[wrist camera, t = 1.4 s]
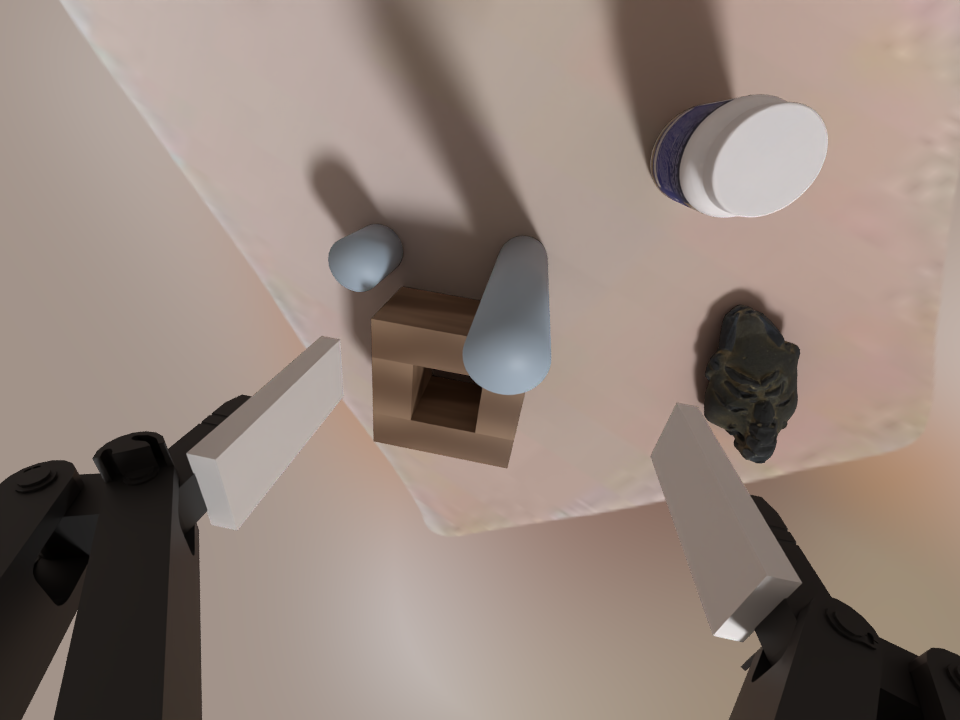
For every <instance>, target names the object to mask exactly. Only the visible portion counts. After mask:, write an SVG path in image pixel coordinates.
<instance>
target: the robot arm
mask: <svg viewBox="0 0 960 720" xmlns="http://www.w3.org/2000/svg"><path fill="white" fill-rule="evenodd" d="M343 396H344V392H343V376H342V360H341V344H340V339H335V338H330V337H324V336H321V337H320V338H319V339H318V340H316V341H315V342H314V343H313V344H312V345H311V346H309V347H308V348H307V349H306V350H305V351H304V352H303V353H301V354H300V355H299V356H298V357H297V358H296V359H295V360H293V361H292V362H291V363H290V364H289V365H288V366H286V367H285V368H284V369H283V370H282V371H281V372H280V373H278V374H277V375H276V376H275V377H274V378H273V379H272V380H270V381H269V382H268V383H267V384H266V385H264V386H263V387H262V388H261V389H260V390H259V391H258V392H256V393H255V394H254V395H253V396H247V395H240V396H238V397H237V398H234V399H232V400H230V401H227V402H226V403H224V404H223V405H222V406H220V407H219V408H218V409H217V410H215V411H214V412H213V413H212V415H209V416H208V417H207V418H206V419H204V420H203V421H202V423H201V424H198V425H197V426H196V427H195V428H193V429H192V430H191V431H190V432H188V433H187V434H186V435H185V436H183V437H182V438H181V439H180V440H178V441H177V442H176V443H175V444H174V445H172V446H171V447H170V448H169V449H168V448H167V446H166V443H165V441H164V438H163V436H161V435H160V434H158V433H155V432H146V431H145V432H136V433H131V434H128V435H124V436H121V437H118V438H116V439H114V440H112V441H111V442H108V443H106V444H105V445H104V446H103V447H101V448H100V449H99V450H98V451H97V452H96V454H95V455H94V457H93V461H94V463H95V464H96V466H97V468H98V470H99V472H100V474H83V475H79V473H78V472H77V470H76V468H75V467H74V465H73V464H72V463H70V462H67V461H64V460H56V461H55V460H52V461H48V462H42V463H38V464H35V465H32V466H29V467H27V468H24V469H22V470H20V471H18V472H17V473H15V474H13V475H11V476H9V477H8V478H7V479H5V480H4V481H3V482H2V483H1V484H0V720H21V719H22V717H23V715H24V714H25V712H26V710H27V708H28V706H29V704H30V702H31V700H32V698H33V696H34V694H35V692H36V690H37V688H38V686H39V684H40V682H41V680H42V678H43V676H44V674H45V672H46V670H47V668H48V666H49V664H50V663H51V661H52V658H53V656H54V655H55V653H56V651H57V649H58V647H59V645H60V643H61V641H62V639H63V637H64V635H65V633H66V631H67V629H68V627H69V625H70V623H71V621H72V619H73V617H74V616H75V614H76V612H77V615H76V620H75V625H74V629H73V634H72V638H71V643H70V648H69V652H68V657H67V661H66V666H65V670H64V675H63V679H62V684H61V688H60V693H59V698H58V702H57V707H56V711H55V716H54V720H202V695H201V694H202V691H201V638H200V637H201V636H200V635H201V631H200V571H199V529H198V526H197V521H198V520H199V519H200V518H201V517H202V516H203V515H204V514H205V513H206V512H207V513H208V516H209V519H210V522H211V524H212V525H215V526H219V527H224V528H228V529H233V530H238V529H239V528H240V526H241V525H242V524H243V523H244V521H245V520H246V519H247V518H248V516H249V515H250V514H251V513H252V511H253V510H254V509H255V507H256V506H257V505H258V504H259V502H260V501H261V500H262V499H263V497H264V496H265V495H266V494H267V492H268V491H269V490H270V489H271V487H272V486H273V485H274V483H275V482H276V481H277V480H278V478H279V477H280V476H281V475H282V473H283V472H284V471H285V470H286V468H287V467H288V466H289V464H290V463H291V462H292V461H293V459H294V458H295V457H296V455H297V454H298V453H299V452H300V451H301V449H302V448H303V447H304V445H305V444H306V443H307V442H308V440H309V439H310V438H311V437H312V435H313V434H314V433H315V432H316V430H317V429H318V428H319V427H320V425H321V424H322V423H323V421H324V420H325V419H326V418H327V416H328V415H329V414H330V413H331V411H332V410H333V409H334V407H335V406H336V405H337V404H338V402H339V401H340V400H341V399H342V397H343ZM651 459H652V462H653V465H654V468H655V470H656V473H657V476H658V479H659V482H660V485H661V488H662V491H663V493H664V496H665V499H666V502H667V505H668V508H669V511H670V513H671V516H672V519H673V522H674V525H675V527H676V531H677V534H678V536H679V539H680V542H681V545H682V548H683V551H684V554H685V557H686V560H687V562H688V565H689V568H690V571H691V574H692V576H693V580H694V583H695V585H696V588H697V591H698V594H699V597H700V600H701V602H702V606H703V608H704V611H705V614H706V617H707V620H708V623H709V626H710V628H711V631H712V634H713V636H717V637H722V638H726V639H731V640H735V641H740V642H744V641H745V640H746V639H747V638H748V637H749V636H750V635H751V634H752V633H753V631H755V632H756V634H757V636H758V638H759V641H760V643H761V645H762V647H761V648H760V649H759V650H758V651H757V652H756V653H754V654H753V655H752V656H751V657H750V658H749V659H748V660H747V661H746V662H745V663H744V664H743V665H742V666H741V667H742V668H743V669H744V670H745V671H746V670H747V669H748V668H749V667H750V668H749V671H748V673H747V676H746V678H745V681H744V683H743V686H742V688H741V691H740V693H739V696H738V698H737V701H736V703H735V706H734V708H733V711H732V713H731V716H730V718H729V720H960V656H959V655H957V654H955V653H952V652H950V651H947V650H945V649H941V648H931V649H929V650H928V651H926V652H925V653H923V654H922V655H920V656H917V655H915V654H913V653H911V652H909V651H907V650H905V649H903V648H901V647H899V646H896V645H894V644H892V643H890V642H888V641H886V640H884V639H882V638H880V637H878V635H877V633H876V631H875V630H874V629H873V627H872V626H871V625H870V624H869V623H868V622H867V621H866V620H865V619H864V618H863V617H862V616H861V615H860V614H859V613H857V612H856V611H855V610H853V609H852V608H851V607H850V606H848V605H846V604H845V603H843V602H841V601H839V600H837V599H835V598H832V597H831V596H830V594H829V593H828V591H827V590H826V588H825V586H824V585H823V583H822V582H821V580H820V578H819V577H818V575H817V574H816V572H815V571H814V569H813V568H812V566H811V564H810V563H809V561H808V560H807V558H806V557H805V555H804V554H803V552H802V550H801V549H800V548H799V546H798V545H796V541H795V539H794V538H793V536H792V535H791V533H790V532H788V531H787V527H786V525H785V524H784V522H783V521H782V519H781V517H780V516H779V515H778V513H777V512H776V511H775V510H774V509H773V508H772V507H771V506H770V505H769V504H768V503H767V502H766V501H765V500H764V499H763V498H762V497H759V496H754V495H750V494H749V493H748V491H747V489H746V487H745V486H744V484H743V482H742V481H741V479H740V477H739V476H738V474H737V472H736V471H735V469H734V467H733V466H732V464H731V462H730V461H729V459H728V457H727V455H726V454H725V452H724V450H723V449H722V447H721V445H720V444H719V442H718V440H717V439H716V437H715V435H714V434H713V432H712V430H711V428H710V427H709V425H708V423H707V422H706V420H705V418H704V417H703V415H702V413H701V412H700V410H699V408H698V407H697V406H692V405H687V404H681V403H676V405H675V407H674V409H673V411H672V413H671V415H670V417H669V419H668V421H667V423H666V425H665V428H664V430H663V432H662V434H661V436H660V438H659V440H658V442H657V444H656V446H655V448H654V450H653V452H652V454H651ZM77 610H78V611H77Z"/></svg>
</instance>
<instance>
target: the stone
mask: <svg viewBox="0 0 960 720" xmlns="http://www.w3.org/2000/svg"><path fill="white" fill-rule="evenodd" d="M799 356H800V349H799V347H798V346H797V345H795V344H793V343H790V342H787V341H784V338H783V336H782V335H781V333H780V331H779V330H778V329H777V328H776V327H775V325H774V324H773V323H772V322H771V321H770V320H769V319H768V318H767V317H766V316H765V315H764V314H763V313H760V312H758V311H754V310H753V309H752V308H750V307H747V306H744V305H739V306H736V307H735V308H734V309H733V310H732V311H730V312H729V313H728V314H726V315H725V318H724V320H723V324H722V329H721V333H720V339H719V348H718V350H717V353H716V354H714V355H713V356H712V358H711V359H710V361H709V363H708V365H707V368H706V372H705V377H706V378H707V379H708V380H709V384H708V387H707V390H706V393H705V402H704V415H705V417H706V419H707V420H708V421H709V422H711V423H713V424H715V425H717V426H719V427H721V428H723V429H725V430H726V431H727V432H728V433H729V434H730V435H733V436H734V438H735V440H734V446H735V447H736V449H737V450H738V451H739V452H740V453H741V455H742V456H743V457H744V458H745V459H746V460H750V461H753V462H755V463H765V461H766V460H768V459H769V458H770V457H771V456H772V455H773V452H774V450H775V447H776V443H777V440H776V439H777V436H778V433H779V432H780V430H781V429H784V428H785V427H786V426H787V421H788V420H789V419H790V418H791V416H792V415H793V413H794V412H795V409H796V407H797V401H798V395H797V364H798V359H799Z"/></svg>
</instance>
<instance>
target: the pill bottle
mask: <svg viewBox="0 0 960 720" xmlns="http://www.w3.org/2000/svg"><path fill="white" fill-rule="evenodd" d="M827 147H828V134H827V130H826V127H825V124H824V122H823V120H822V118H821V117H820V115H819V114H818V113H817V112H816V111H815V110H813V109H812V108H810V107H808V106H806V105H804V104H800V103H796V102H787V101H785V100H783V99H781V98H779V97H776V96H772V95H762V94H757V95H748V96H743V97H739V98H734V99H729V100H724V101H718V102H713V103H707V104H703V105H698V106H695V107H692V108H690V109H687V110H685V111H684V112H682V113H680V114H679V115H677V116H676V117H675V118H674V119H672V120H671V121H670V122H669V123H668V124H667V125H666V127H665V128H664V129H663V130H662V132H661V133H660V135H659V137H658V138H657V140H656V142H655V145H654V148H653V151H652V155H651V161H650V168H651V175H652V178H653V181H654V183H655V185H656V187H657V188H658V189H659V190H660V191H661V192H662V193H663V194H664V195H665V196H667V197H668V198H670V199H672V200H674V201H676V202H679V203H681V204H683V205H685V206H687V207H689V208H692V209H694V210H696V211H698V212H701V213H703V214H706V215H709V216H713V217H722V218H726V217H735V216H742V217H759V216H764V215H768V214H771V213H774V212H776V211H778V210H780V209H782V208H784V207H786V206H788V205H789V204H791V203H792V202H793V201H795V200H796V199H797V198H799V197H800V196H801V195H802V194H803V193H804V192H805V191H806V190H807V189H808V188H809V186H810V185H811V184H812V183H813V181H814V180H815V178H816V177H817V175H818V174H819V172H820V170H821V168H822V165H823V163H824V160H825V157H826V153H827Z"/></svg>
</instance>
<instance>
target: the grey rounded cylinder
mask: <svg viewBox="0 0 960 720" xmlns="http://www.w3.org/2000/svg"><path fill="white" fill-rule="evenodd" d="M402 256H403V248H402V244H401V241H400V239H399V237H398V236H397V235H396V233H395V232H394V231H393V230H391V229H390V228H388V227H387V226H384V225H381V224H372V225H368V226H366V227H364V228H362V229H360V230H358V231H356V232H354V233H352V234H350V235H348V236H346V237H344V238H342V239H340V240H338V241H337V242H335V243H334V244H333V246H332V247H331V249H330V252H329V257H328V262H329V267H330V270H331V272H332V274H333V276H334V277H335V279H336V280H337V281H338V282H339V283H340V284H341V285H342V286H344V287H345V288H347V289H349V290H352V291H356V292H364V291H368V290H370V289H372V288H373V287H375V286H376V285H377V284H378V283H379V282H380V281H381V280H383V279H384V278H385V277H386V276H387V275H388V274H389V273H391V272H392V271H393V270H394V269H395V268H396V267H397V266H398V265H399V264H400V262H401V260H402Z"/></svg>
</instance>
